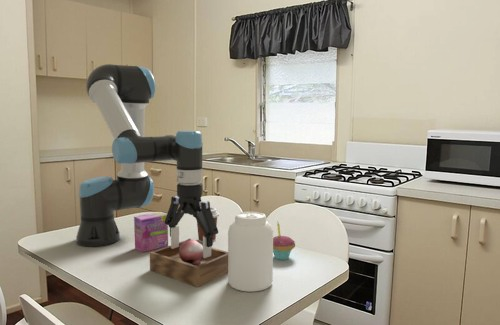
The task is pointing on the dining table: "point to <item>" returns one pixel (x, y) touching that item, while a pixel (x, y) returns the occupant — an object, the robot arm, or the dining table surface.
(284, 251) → the cupcake
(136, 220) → the box
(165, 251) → the wooden tray
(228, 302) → the dining table surface
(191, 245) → the onion
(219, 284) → the dining table surface
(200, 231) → the coffee cup
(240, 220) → the white lidded jar
